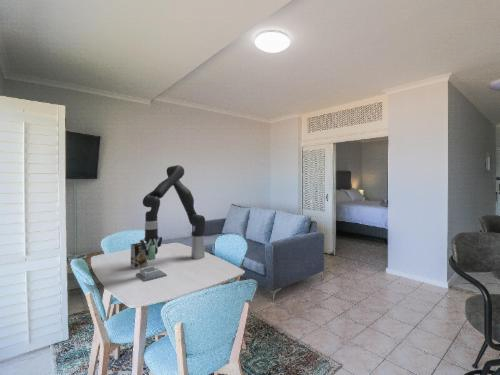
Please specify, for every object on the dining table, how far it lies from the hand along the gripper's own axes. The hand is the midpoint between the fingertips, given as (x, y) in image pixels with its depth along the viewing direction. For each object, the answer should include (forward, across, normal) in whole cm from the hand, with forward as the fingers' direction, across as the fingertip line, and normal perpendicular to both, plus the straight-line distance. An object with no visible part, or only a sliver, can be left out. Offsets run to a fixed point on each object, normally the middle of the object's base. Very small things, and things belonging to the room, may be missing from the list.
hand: (151, 254), depth 168 cm
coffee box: (+14, 0, -21) cm, 25 cm away
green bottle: (+3, 0, 0) cm, 3 cm away
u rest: (+13, 0, 0) cm, 13 cm away
